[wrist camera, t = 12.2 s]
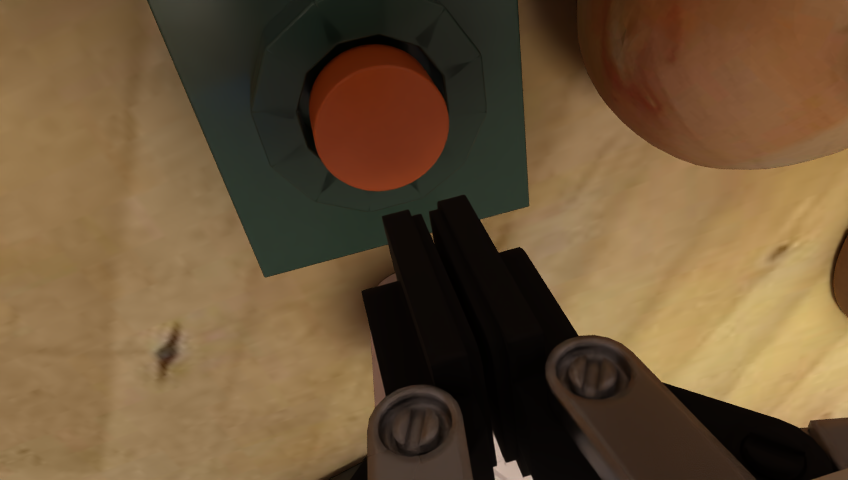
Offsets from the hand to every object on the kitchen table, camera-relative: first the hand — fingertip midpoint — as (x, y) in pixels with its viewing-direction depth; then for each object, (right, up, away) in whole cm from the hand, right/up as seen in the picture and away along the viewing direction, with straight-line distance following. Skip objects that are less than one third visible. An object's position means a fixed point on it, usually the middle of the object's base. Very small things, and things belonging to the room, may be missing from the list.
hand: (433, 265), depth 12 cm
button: (-2, +4, +5) cm, 7 cm away
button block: (-3, +6, +8) cm, 10 cm away
